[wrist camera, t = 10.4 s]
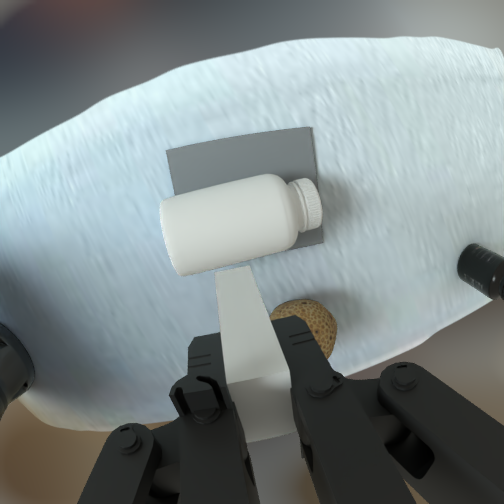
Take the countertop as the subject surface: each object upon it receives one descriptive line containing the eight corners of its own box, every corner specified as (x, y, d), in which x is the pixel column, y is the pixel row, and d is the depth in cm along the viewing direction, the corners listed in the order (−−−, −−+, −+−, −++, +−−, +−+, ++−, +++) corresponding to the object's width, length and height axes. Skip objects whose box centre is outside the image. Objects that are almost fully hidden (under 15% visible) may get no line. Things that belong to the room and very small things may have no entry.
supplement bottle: (477, 273, 43) (521, 302, 32) (453, 283, 43) (499, 316, 32) (481, 238, 41) (530, 263, 30) (457, 247, 40) (509, 275, 29)
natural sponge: (328, 282, 39) (361, 322, 29) (315, 338, 42) (340, 384, 32) (260, 281, 37) (277, 326, 28) (253, 340, 40) (266, 391, 31)
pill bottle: (152, 185, 26) (308, 151, 28) (170, 217, 34) (293, 187, 35) (168, 269, 24) (337, 225, 26) (184, 284, 32) (315, 249, 34)
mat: (192, 268, 35) (192, 269, 35) (166, 150, 30) (165, 150, 30) (321, 242, 37) (323, 243, 36) (308, 126, 32) (309, 126, 31)
